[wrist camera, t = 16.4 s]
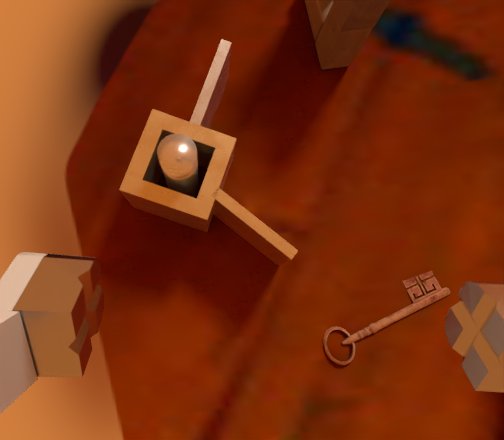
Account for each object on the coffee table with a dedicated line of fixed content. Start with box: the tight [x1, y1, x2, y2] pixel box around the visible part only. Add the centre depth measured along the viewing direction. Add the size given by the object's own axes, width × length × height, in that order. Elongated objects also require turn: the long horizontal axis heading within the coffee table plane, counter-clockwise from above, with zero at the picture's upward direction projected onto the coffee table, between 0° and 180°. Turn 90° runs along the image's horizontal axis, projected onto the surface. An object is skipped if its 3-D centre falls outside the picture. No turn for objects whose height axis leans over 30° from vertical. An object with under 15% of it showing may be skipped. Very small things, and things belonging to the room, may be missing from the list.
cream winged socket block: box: [119, 39, 298, 266], centre depth 41 cm, size 18×16×7 cm
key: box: [323, 271, 450, 365], centre depth 43 cm, size 6×1×15 cm
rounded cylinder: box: [157, 133, 199, 197], centre depth 39 cm, size 3×3×10 cm
